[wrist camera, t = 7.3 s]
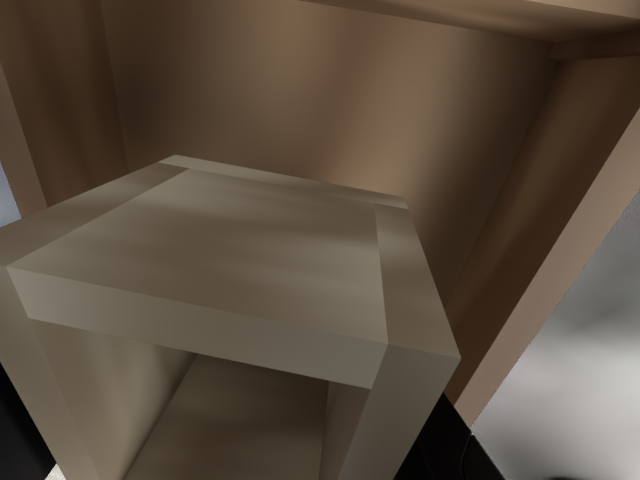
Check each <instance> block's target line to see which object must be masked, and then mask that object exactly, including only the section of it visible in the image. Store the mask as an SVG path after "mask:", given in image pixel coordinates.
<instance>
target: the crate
mask: <svg viewBox="0 0 640 480" xmlns="http://www.w3.org/2000/svg"><path fill="white" fill-rule="evenodd" d="M173 155H180V156H186V157H191V158H197V159H202V160H207V161H213V162H218V163H223V164H229V165H234V166H240V167H245V168H250V169H256V170H261V171H267V172H272V173H277V174H283V175H288V176H293V177H299V178H304V179H310V180H315V181H320V182H326V183H331V184H337V185H342V186H347V187H353V188H358V189H363V190H369V191H374V192H380V193H385V194H390V195H396V196H401V197H404V198H405V201H406V204H407V206H408V209H409V212H410V215H411V218H412V221H413V223H414V226H415V229H416V232H417V235H418V237H419V240H420V243H421V246H422V249H423V252H424V254H425V257H426V260H427V263H428V266H429V269H430V271H431V274H432V277H433V280H434V283H435V285H436V288H437V291H438V294H439V297H440V300H441V302H442V305H443V308H444V311H445V314H446V316H447V319H448V322H449V325H450V328H451V331H452V333H453V336H454V339H455V342H456V345H457V348H458V350H459V353H460V356H461V360H460V362H459V364H458V366H457V367H456V369H455V371H454V373H453V374H452V376H451V378H450V380H449V382H448V383H447V385H446V387H445V389H444V390H443V391H444V393H445V394H446V396H447V397H448V398H449V400H450V401H451V403H452V404H453V406H454V407H455V409H456V410H457V411H458V413H459V414H460V416H461V417H462V419H463V420H464V421H465V423H466V424H467V426H468V427H469V428H470V427H471V425H472V424H473V423H474V421H475V420H476V418H477V417H478V416H479V414H480V413H481V411H482V410H483V408H484V407H485V406H486V404H487V403H488V401H489V400H490V399H491V397H492V396H493V394H494V393H495V392H496V390H497V389H498V387H499V386H500V385H501V383H502V382H503V380H504V379H505V377H506V376H507V375H508V373H509V372H510V370H511V369H512V368H513V366H514V365H515V363H516V362H517V361H518V359H519V358H520V356H521V355H522V353H523V352H524V351H525V349H526V348H527V346H528V345H529V344H530V342H531V341H532V339H533V338H534V337H535V335H536V334H537V332H538V331H539V329H540V328H541V327H542V325H543V324H544V322H545V321H546V320H547V318H548V317H549V315H550V314H551V313H552V311H553V310H554V308H555V307H556V305H557V304H558V303H559V301H560V300H561V298H562V297H563V296H564V294H565V293H566V291H567V290H568V289H569V287H570V286H571V284H572V283H573V282H574V280H575V279H576V277H577V276H578V274H579V273H580V272H581V270H582V269H583V267H584V266H585V265H586V263H587V262H588V260H589V259H590V258H591V256H592V255H593V253H594V252H595V250H596V249H597V248H598V246H599V245H600V243H601V242H602V241H603V239H604V238H605V236H606V235H607V234H608V232H609V231H610V229H611V228H612V226H613V225H614V224H615V222H616V221H617V219H618V218H619V217H620V215H621V214H622V212H623V211H624V210H625V208H626V207H627V205H628V204H629V202H630V201H631V200H632V198H633V197H634V195H635V194H636V193H637V191H638V190H639V188H640V0H0V161H1V164H2V167H3V169H4V172H5V174H6V177H7V180H8V182H9V185H10V188H11V190H12V193H13V196H14V198H15V201H16V204H17V206H18V209H19V212H20V214H21V217H22V218H25V217H27V216H30V215H32V214H34V213H37V212H39V211H42V210H44V209H46V208H49V207H51V206H53V205H56V204H58V203H61V202H63V201H65V200H68V199H70V198H73V197H75V196H77V195H80V194H82V193H85V192H87V191H89V190H92V189H94V188H97V187H99V186H101V185H104V184H106V183H109V182H111V181H113V180H116V179H118V178H120V177H123V176H125V175H128V174H130V173H132V172H135V171H137V170H140V169H142V168H144V167H147V166H149V165H152V164H154V163H156V162H159V161H161V160H164V159H166V158H168V157H171V156H173Z"/></svg>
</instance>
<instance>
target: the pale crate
mask: <svg viewBox="0 0 640 480" xmlns="http://www.w3.org/2000/svg"><path fill="white" fill-rule="evenodd" d="M460 360H461V356H460V353H459V350H458V348H457V345H456V342H455V339H454V336H453V333H452V331H451V328H450V325H449V322H448V319H447V316H446V314H445V311H444V308H443V305H442V302H441V300H440V297H439V294H438V291H437V288H436V285H435V283H434V280H433V277H432V274H431V271H430V269H429V266H428V263H427V260H426V257H425V254H424V252H423V249H422V246H421V243H420V240H419V237H418V235H417V232H416V229H415V226H414V223H413V221H412V218H411V215H410V212H409V209H408V206H407V204H406V201H405V198H404V197H401V196H396V195H390V194H385V193H380V192H374V191H369V190H363V189H358V188H353V187H347V186H342V185H337V184H331V183H326V182H320V181H315V180H310V179H304V178H299V177H293V176H288V175H283V174H277V173H272V172H267V171H261V170H256V169H250V168H245V167H240V166H234V165H229V164H223V163H218V162H213V161H207V160H202V159H197V158H191V157H186V156H180V155H173V156H171V157H168V158H166V159H164V160H161V161H159V162H156V163H154V164H152V165H149V166H147V167H144V168H142V169H140V170H137V171H135V172H132V173H130V174H128V175H125V176H123V177H120V178H118V179H116V180H113V181H111V182H109V183H106V184H104V185H101V186H99V187H97V188H94V189H92V190H89V191H87V192H85V193H82V194H80V195H77V196H75V197H73V198H70V199H68V200H65V201H63V202H61V203H58V204H56V205H53V206H51V207H49V208H46V209H44V210H42V211H39V212H37V213H34V214H32V215H30V216H27V217H25V218H22V219H20V220H18V221H15V222H13V223H10V224H8V225H6V226H3V227H1V228H0V362H1V364H2V366H3V367H4V369H5V371H6V373H7V374H8V376H9V378H10V380H11V382H12V383H13V385H14V387H15V389H16V391H17V392H18V394H19V396H20V398H21V400H22V401H23V403H24V405H25V407H26V408H27V410H28V412H29V414H30V416H31V417H32V419H33V421H34V423H35V425H36V426H37V428H38V430H39V432H40V434H41V435H42V437H43V439H44V441H45V443H46V444H47V446H48V448H49V450H50V451H51V453H52V455H53V457H54V459H55V460H56V462H57V464H58V466H59V468H60V469H61V471H62V473H63V475H64V477H65V478H66V480H393V478H394V477H395V475H396V473H397V471H398V470H399V468H400V466H401V464H402V463H403V461H404V459H405V457H406V456H407V454H408V452H409V450H410V449H411V447H412V445H413V443H414V441H415V440H416V438H417V436H418V434H419V433H420V431H421V429H422V427H423V426H424V424H425V422H426V420H427V419H428V417H429V415H430V413H431V412H432V410H433V408H434V406H435V404H436V403H437V401H438V399H439V397H440V396H441V394H442V392H443V390H444V389H445V387H446V385H447V383H448V382H449V380H450V378H451V376H452V374H453V373H454V371H455V369H456V367H457V366H458V364H459V362H460Z"/></svg>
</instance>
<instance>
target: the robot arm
mask: <svg viewBox="0 0 640 480" xmlns="http://www.w3.org/2000/svg"><path fill="white" fill-rule="evenodd" d="M471 434H472V432H471V430H470V429H469V427H468V426H467V424H466V423H465V421H464V420H463V419H462V417H461V416H460V414H459V413H458V411H457V410H456V409H455V407H454V406H453V404H452V403H451V401H450V400H449V398H448V397H447V396H446V394H445V393H444V391H443V392H442V394H441V396H440V397H439V399H438V401H437V403H436V404H435V406H434V408H433V410H432V412H431V413H430V415H429V417H428V419H427V420H426V422H425V424H424V426H423V427H422V429H421V431H420V433H419V434H418V436H417V438H416V440H415V441H414V443H413V445H412V447H411V449H410V450H409V452H408V454H407V456H406V457H405V459H404V461H403V463H402V464H401V466H400V468H399V470H398V471H397V473H396V475H395V477H394V478H393V480H506V479H505V478H504V476H503V475H502V474H501V472H500V471H499V469H498V468H497V467H496V465H495V464H494V463H493V461H492V460H491V458H490V457H489V456H488V454H487V453H486V451H485V450H484V449H483V447H482V446H481V444H480V443H479V441H478V440H477V439H476V437H475V436H474V435H471ZM56 463H57V462H56V460H55V459H54V457H53V455H52V453H51V451H50V450H49V448H48V446H47V444H46V443H45V441H44V439H43V437H42V435H41V434H40V432H39V430H38V428H37V426H36V425H35V423H34V421H33V419H32V417H31V416H30V414H29V412H28V410H27V408H26V407H25V405H24V403H23V401H22V400H21V398H20V396H19V394H18V392H17V391H16V389H15V387H14V385H13V383H12V382H11V380H10V378H9V376H8V374H7V373H6V371H5V369H4V367H3V366H2V364H1V362H0V480H45V479H46V477H47V476H48V474H49V473H50V472H51V470H52V469H53V467H54V466H55V465H56Z"/></svg>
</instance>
